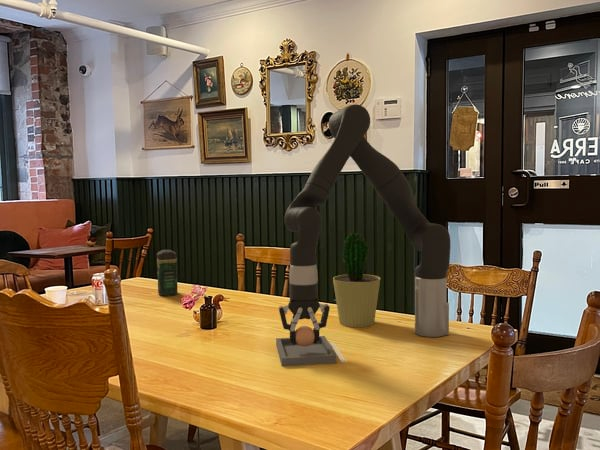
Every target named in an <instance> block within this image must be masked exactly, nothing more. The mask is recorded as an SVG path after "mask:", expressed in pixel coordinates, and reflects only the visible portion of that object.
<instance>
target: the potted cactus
mask: <svg viewBox="0 0 600 450" xmlns="http://www.w3.org/2000/svg"><path fill="white" fill-rule="evenodd" d="M343 242H344V244H343V245H342V246H343V253H341V255H342V262H344V263H345V264H343V266H344V267H345V272H346V274H341V275H340V274H339V275H337V276H334V277H332V280H333V281H332V282H333V288H334V294H335V301H336V307H337V315H338V322H339V324H340V325H341V326H344V327H347V328H366V327H371V326H373V325H374V324H375V319H376V313H377V307H378V306H377V305H378V298H379V291H380V283H381V277H380V276H378V275H372V274H366V273H364V272H365V271H366V268H368V266H367V265H366V264H367V261H368V259H369V258H370V255H369V248H368V247H369V245H368V244H369V243H368V241H366V238H364V237H363V235H362V234H361V233H358V232H356V233H354V232H349V234H348V235H347V237H346V239H344V240H343Z"/></svg>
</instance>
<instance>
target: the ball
mask: <svg viewBox="0 0 600 450" xmlns="http://www.w3.org/2000/svg"><path fill="white" fill-rule="evenodd" d="M295 331H296V342H297V344H299V345H300V346H304V347H306V346H309V345H311V344H312V343H313V341H314V338H315V336H314V331H313V329H312V327H310V326H308V325H301V326H299V327H298V328H296V330H295Z"/></svg>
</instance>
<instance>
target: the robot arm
mask: <svg viewBox="0 0 600 450" xmlns="http://www.w3.org/2000/svg"><path fill="white" fill-rule="evenodd" d="M370 126H371V117H370V114H369V111H368V110H367V108H366V107H364V106H362V105H360V104H358V103H357V104H355V103H354V104H350V105H347V106H345V107H344V108H342V109H340V110H337V111H335V112H334V113H333V114H332V115H331V116H330V117H329V119H328V128H329V131H330V134H331V135H332V137H333V138H334V140H333V141H332V143H331V144H330V146H329V148H328V149H327V150H326V152H325V153H324V154H323V156H322V157H321V158H320V159H319V161H318V162H317V164H316V165H315V166H314V168H313V169H312V171H311V173H310V175H309V177H308V178H307V181H306V183H305V185H304V187H303V188H302V190H301V191H300V192H299V193H298V194H297V196H296V197H295V198H294V200H292V202H291V203H290V204H289V206H288V207H287V209H286V211H285V213H284V218H283V221H284V226H285V228H286V229H287V230H288V231H290V232H292V233H299V234H298V238H297V239H298V240H297V241H295V242H293V243H291V245H290V249H289V265H290V266H289V272H288V273H289V278H288V281H289V301H288V304H287V305H283V306H282V305H279V306H278V312H279V316H280V319H281V324H282V328H283V329H284V330H288V331H289V338H290V341H291V343H293V345H296V330H295V329H296V327H297V325H298V322H299V320H304V319H306V320H310V321H311V323H312V325H313V329H312V330H313V331H314V336H315V338H314V344H316V343H317V341H319V336H320V330H321V329H322V328H326V326H327V323H328V318H329V313H330V309H331V308H330V305H329V304H328V303H324V304H323V303H320V302H319V295H318V294H319V290H318V289H319V288H318V283H319V277H318V275H319V274H318V268H317V267H318V266H317V247H318V244H319V239H320V236H321V235H320V234H321V231H322V225H323V224H322V217H321V214H320V211H319V210H318V209H316V208H317V207H318V206H321V205H324V204H325V203H326V202H327V200H328V198H329V197H330V194H331V193H332V190H333V188H334V187H335V184H336V182H337V179H338V178H339V176H340V174H341V172H342V170H343V169H344V168H345V165H346V163H347V162H348V160H349V158H351V159H352V160H353V161H354V163H355V165H357V167H358V168H359V170H360V171H361V173H363V175H364V177H365V179H367V180H368V182H369V184H370V185H371V187H372V188H373V190H374V191H375V192H376V194H377V195H378V196H379V198H380V199H381V200H382V201H383V203H384V204H385V205H386V206H387V208H388V209H389V211H390V212H391V214H392V215H393V216H394V217H395V218H396V220H397V221H398V223H399V224H400V225H401V228H402V229H403V231H404V232H405V234H406V236H407V238H408V241H409V242H410V243H411V245H412V247H413V248H414V249H415V250H416V251H418V252H420V253H421V255H420V256H421V257H420V263H419V265H417V266H416V267H415V268H414V333H415V334H416V335H418V336H422V337H427V338H428V337H429V338H438V337H444V336H446V335H447V336H448V335H450V331H449V330H450V303H449V302H447V289H448V288H447V281H448V279H447V275H448V274H447V273H448V271H449V269H450V263H451V262H450V261H451V259H450V258H451V236H450V232H449V229H447V228H446V227H445V226H444V225H442V224H438V223H431V222H430V221H429V220H428V219H427V218H426V216H424V213H422V212H421V211H420V209H419V207H418V206H417V203H416V202H415V198H414V197H415V196H414V193H413V189H412V186H411V184H410V183H409V181H408V179H407V178H406V176H405V175H404V173H403V172H402V170H401V169H400V167H398V165H397V164H396V163H395V162H394V161H392V160H391V159H390V158H388V157H387V156H386V155H384V154H382V153H381V152H379V151H378V150H377V149H376V148H374V147H373V146H372V145H371V144H370V142H369V141H368V140H367V139H366V137H365V135H366V134H367V132H368V130H369V129H370ZM319 309H320V311H321V312H320V313H322V314H321V318H320V322H318V321H317V318H316V316H315V315H316V314H317V312H318V310H319ZM288 310H289V311H290V312H291V314H292V317H291V321H290V323H288V322H287V321H288V320H287V317H286V315H287V314H288Z"/></svg>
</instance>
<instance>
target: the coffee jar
mask: <svg viewBox="0 0 600 450" xmlns="http://www.w3.org/2000/svg"><path fill="white" fill-rule="evenodd" d="M156 265H157V266H156V267H157V293H158V295H160V296H166V297H169V296H173V295H177V294H178V259H177V252H175V251H173V250H171V249H161V250H160V251H158V252H157V253H156Z"/></svg>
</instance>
